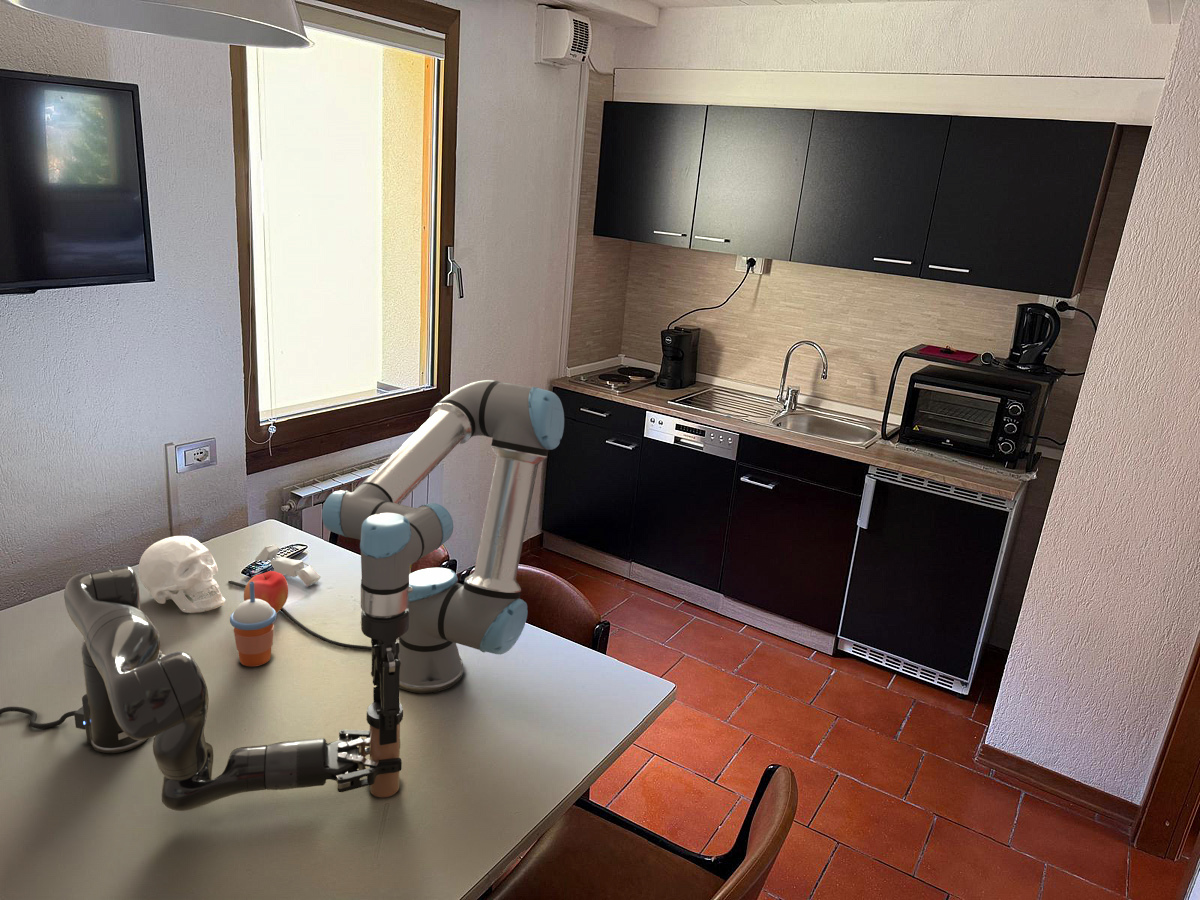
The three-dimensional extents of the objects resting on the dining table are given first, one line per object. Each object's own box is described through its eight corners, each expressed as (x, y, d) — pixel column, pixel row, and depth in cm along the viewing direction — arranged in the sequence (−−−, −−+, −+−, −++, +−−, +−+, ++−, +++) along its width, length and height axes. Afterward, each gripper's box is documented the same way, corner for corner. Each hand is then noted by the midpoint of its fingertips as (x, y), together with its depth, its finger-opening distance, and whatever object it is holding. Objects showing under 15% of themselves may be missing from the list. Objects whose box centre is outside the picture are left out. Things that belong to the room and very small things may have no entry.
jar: (364, 793, 146) (364, 717, 142) (378, 775, 151) (378, 701, 146) (390, 800, 145) (391, 724, 141) (404, 781, 150) (405, 707, 145)
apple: (273, 600, 207) (272, 562, 204) (297, 613, 202) (296, 575, 199) (237, 614, 200) (234, 575, 197) (261, 628, 194) (259, 588, 191)
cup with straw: (262, 673, 177) (258, 595, 172) (223, 666, 179) (218, 588, 174) (286, 652, 186) (283, 577, 181) (248, 645, 187) (244, 570, 182)
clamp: (253, 565, 223) (254, 542, 221) (265, 560, 226) (266, 537, 224) (309, 593, 215) (310, 569, 213) (320, 588, 218) (321, 564, 216)
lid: (399, 730, 141) (399, 720, 141) (362, 728, 141) (362, 718, 140) (406, 709, 147) (406, 699, 146) (371, 707, 147) (371, 697, 146)
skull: (204, 622, 195) (202, 558, 191) (126, 603, 200) (122, 540, 196) (244, 599, 207) (242, 538, 203) (169, 582, 213) (166, 522, 209)
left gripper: (292, 773, 134) (403, 761, 139) (298, 719, 148) (399, 710, 152) (293, 812, 137) (402, 800, 141) (299, 756, 150) (398, 746, 154)
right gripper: (420, 633, 131) (418, 761, 138) (398, 580, 147) (397, 696, 154) (370, 640, 128) (370, 770, 135) (353, 585, 144) (354, 703, 151)
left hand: (400, 753), depth 147 cm, fingers closed on jar, 5 cm apart
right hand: (384, 730), depth 145 cm, fingers closed on lid, 6 cm apart
